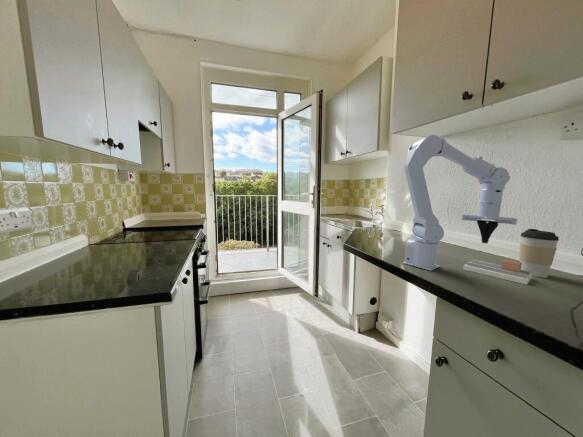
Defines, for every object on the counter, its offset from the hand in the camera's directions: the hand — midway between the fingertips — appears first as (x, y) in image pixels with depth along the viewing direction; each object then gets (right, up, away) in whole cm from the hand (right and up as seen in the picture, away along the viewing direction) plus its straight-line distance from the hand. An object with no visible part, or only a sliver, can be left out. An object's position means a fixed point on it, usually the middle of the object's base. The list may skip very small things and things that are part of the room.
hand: (484, 242), depth 83 cm
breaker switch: (+3, -9, -7) cm, 11 cm away
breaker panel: (+1, -10, -4) cm, 11 cm away
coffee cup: (+15, -11, -2) cm, 18 cm away
